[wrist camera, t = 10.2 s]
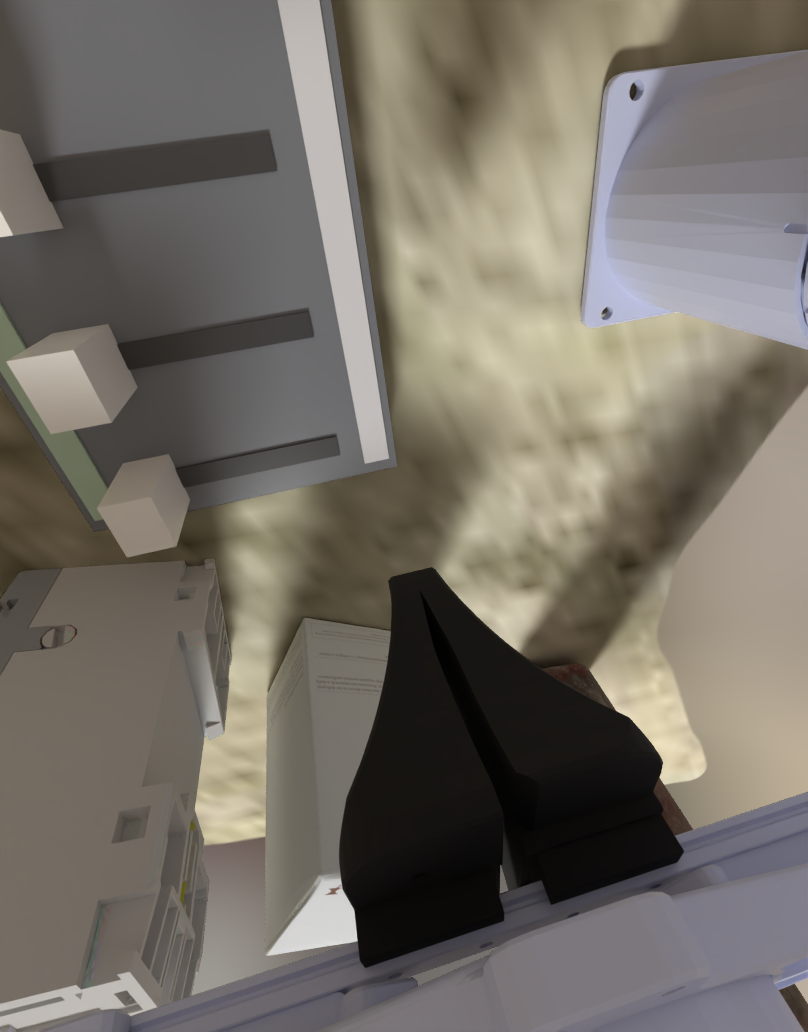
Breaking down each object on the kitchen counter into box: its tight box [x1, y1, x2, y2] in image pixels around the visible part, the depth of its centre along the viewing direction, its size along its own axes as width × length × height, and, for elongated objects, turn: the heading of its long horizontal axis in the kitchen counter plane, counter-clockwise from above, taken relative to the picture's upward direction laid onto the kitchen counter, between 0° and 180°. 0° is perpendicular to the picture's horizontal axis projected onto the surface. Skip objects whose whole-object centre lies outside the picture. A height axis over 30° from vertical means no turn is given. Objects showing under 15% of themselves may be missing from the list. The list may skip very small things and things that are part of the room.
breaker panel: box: [0, 0, 397, 557], centre depth 13 cm, size 12×17×6 cm
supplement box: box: [265, 618, 391, 955], centre depth 24 cm, size 7×7×13 cm
